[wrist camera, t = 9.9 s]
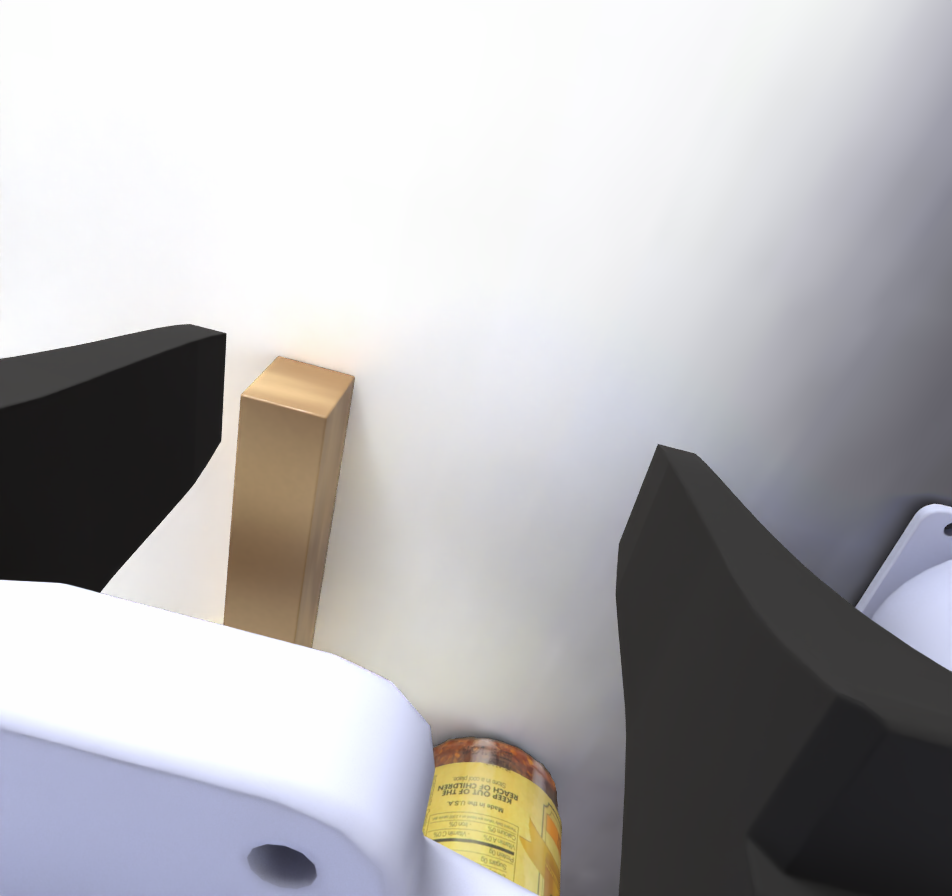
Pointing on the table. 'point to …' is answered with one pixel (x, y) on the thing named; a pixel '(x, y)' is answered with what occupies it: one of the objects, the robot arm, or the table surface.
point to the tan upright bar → (285, 497)
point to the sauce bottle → (497, 811)
